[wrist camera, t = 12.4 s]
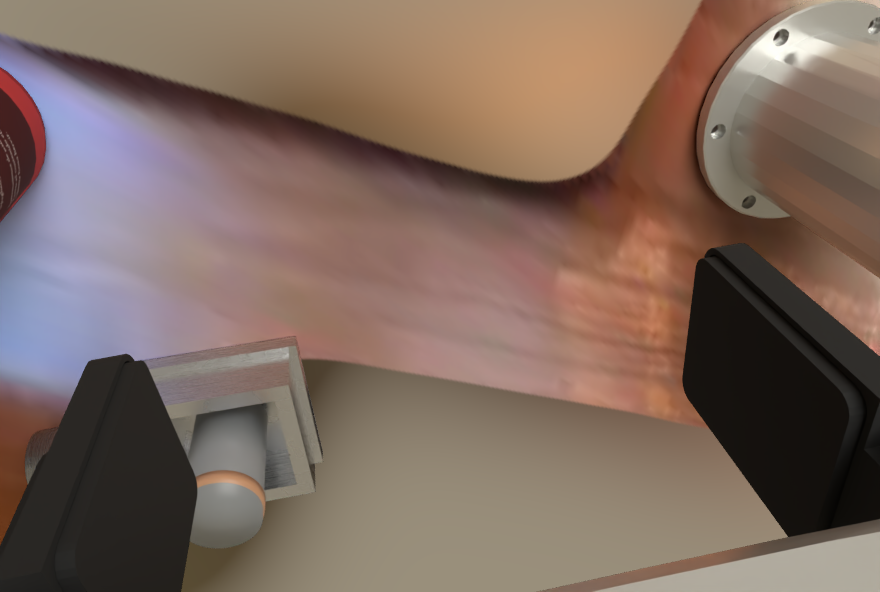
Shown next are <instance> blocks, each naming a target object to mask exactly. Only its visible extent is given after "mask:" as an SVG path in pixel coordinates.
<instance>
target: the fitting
mask: <svg viewBox="0 0 880 592" xmlns="http://www.w3.org/2000/svg"><path fill="white" fill-rule="evenodd" d="M144 362H145V363H146V365H147V367H148V368H149V371H150V373H151V375H152V378H153V380H154V382H155V384H156V387H157V389H158V391H159V394H160V396H161V398H162V400H163V403H164V405H165V407H166V410H167V412H168V414H169V417H170V419H171V421H172V423H173V426H174V428H175V430H176V433H177V435H178V437H179V439H180V442H181V444H182V446H183V449H184V451H185V453H186V455H187V458H188V456H189V451H190V445H191V440H192V435H193V429H194V424H195V419H196V415H197V414H203V413H209V412H215V411H220V410H226V409H232V408H238V407H244V406H250V405H255V404H261V405H262V406H263V407H264V409H265V410H266V413H267V416H268V429H267V448H266V467H265V485H264V492H265V497H266V501H271V500H276V499H281V498H287V497H292V496H297V495H303V494H308V493H313V492H316V490H315V463H320V462H323V451H322V447H321V443H320V438H319V434H318V430H317V425H316V421H315V417H314V413H313V408H312V404H311V400H310V395H309V391H308V387H307V383H306V378H305V374H304V370H303V365H302V361H301V357H300V352H299V348H298V344H297V340H296V336H293V337H287V338H281V339H275V340H268V341H262V342H256V343H250V344H244V345H237V346H231V347H225V348H219V349H213V350H206V351H200V352H194V353H188V354H182V355H175V356H169V357H163V358H157V359H151V360H144ZM58 428H59V427H57V428H51V429H45V430H40V431H37V432H36V433H34V434H33V436H32V437H31V439H30V441H29V443H28V446H27V450H26V456H25V473H26V479H27V483H29V481H30V479H31V477H32V474H33V472H34V470H35V468H36V466H37V463H38V462H39V460H40V459H41V457H42V456H43V455H44V454H45V453H47V452H48V451H49V448H50V446H51V444H52V441H53V439H54V437H55V435H56V432H57V430H58ZM266 501H265V502H266Z"/></svg>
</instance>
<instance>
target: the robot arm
mask: <svg viewBox="0 0 880 592" xmlns="http://www.w3.org/2000/svg"><path fill="white" fill-rule="evenodd" d="M697 157H698V162H699V166H700V171H701V173H702V175H703V177H704V179H705V181H706V183H707V185H708V186H709V188H710V189H711V190H712V191H713V192H714V194H715V195H716V196H717V197H718V198H719V199H721V200H722V201H723V202H725V203H726V204H727V205H728V206H729V207H731V208H733V209H734V210H736V211H738V212H740V213H742V214H745V215H749V216H753V217H756V218H769V219H778V218H784V217H790V216H792V217H793V218H794V219H796V220H797V221H799V222H800V223H802V224H803V225H804V226H806V227H807V228H809V229H810V230H811V231H813V232H814V233H816V234H817V235H819V236H820V237H821V238H823V239H824V240H826V241H827V242H829V243H830V244H831V245H833V246H834V247H836V248H837V249H839V250H840V251H841V252H843V253H844V254H846V255H847V256H849V257H850V258H851V259H853V260H854V261H856V262H857V263H859V264H860V265H861V266H863V267H864V268H866V269H867V270H869V271H870V272H871V273H873V274H874V275H876V276H877V277H879V278H880V8H878V7H876V6H874V5H872V4H868V3H865V2H861V1H857V0H812V1H809V2H806V3H803V4H800V5H797V6H794V7H792V8H790V9H788V10H786V11H784V12H782V13H780V14H778V15H777V16H775V17H773V18H771V19H770V20H768V21H767V22H766V23H765V24H763V25H762V26H761V27H759V28H758V29H757V30H755V31H754V32H753V33H751V34H750V35H749V36H748V37H747V38H746V39H745V40H744V41H743V42H742V43H741V45H740V46H739V47H738V48H737V49H736V50H735V51H734V52H733V53H732V55H731V56H730V57H729V59H728V60H727V61H726V63H725V64H724V65H723V67H722V68H721V69H720V71H719V73H718V74H717V76H716V78H715V80H714V82H713V84H712V85H711V87H710V89H709V91H708V93H707V96H706V99H705V102H704V105H703V107H702V110H701V113H700V118H699V124H698V129H697ZM682 381H683V388H684V391H685V394H686V396H687V398H688V399H689V401H690V402H691V404H692V405H693V406H694V408H695V409H696V410H697V412H698V413H699V415H700V416H701V417H702V419H703V420H704V421H705V423H706V424H707V426H708V427H709V428H710V430H711V431H712V432H713V434H714V435H715V437H716V438H717V439H718V441H719V442H720V443H721V445H722V446H723V448H724V449H725V450H726V452H727V453H728V455H729V456H730V457H731V459H732V460H733V461H734V463H735V464H736V466H737V467H738V468H739V470H740V471H741V472H742V474H743V475H744V476H745V478H746V479H747V481H748V482H749V483H750V485H751V486H752V488H753V489H754V490H755V492H756V493H757V494H758V496H759V497H760V499H761V500H762V501H763V503H764V504H765V505H766V507H767V508H768V509H769V511H770V512H771V514H772V515H773V516H774V518H775V519H776V521H777V522H778V523H779V525H780V526H781V527H782V529H783V530H784V532H785V533H786V534H787V536H788V537H787V538H782V539H778V540H773V541H769V542H764V543H759V544H754V545H750V546H745V547H741V548H736V549H732V550H727V551H722V552H717V553H713V554H708V555H704V556H699V557H694V558H689V559H685V560H680V561H676V562H671V563H666V564H661V565H657V566H652V567H648V568H643V569H638V570H634V571H629V572H624V573H620V574H615V575H611V576H607V577H602V578H598V579H593V580H588V581H584V582H580V583H574V584H570V585H566V586H561V587H556V588H552V589H547V590H543V591H538V592H880V356H879V355H877V354H876V353H875V352H874V351H873V350H871V349H870V348H869V347H868V346H867V345H866V344H864V343H863V342H862V341H861V340H860V339H858V338H857V337H856V336H855V335H854V334H853V333H851V332H850V331H849V330H848V329H847V328H845V327H844V326H843V325H842V324H841V323H839V322H838V321H837V320H836V319H835V318H834V317H832V316H831V315H830V314H829V313H828V312H826V311H825V310H824V309H823V308H822V307H821V306H819V305H818V304H817V303H816V302H815V301H813V300H812V299H811V298H810V297H809V296H808V295H806V294H805V293H804V292H803V291H802V290H800V289H799V288H798V287H797V286H796V285H794V284H793V283H792V282H791V281H790V280H789V279H787V278H786V277H785V276H784V275H783V274H781V273H780V272H779V271H778V270H777V269H776V268H774V267H773V266H772V265H771V264H770V263H768V262H767V261H766V260H765V259H764V258H762V257H761V256H760V255H759V254H758V253H757V252H755V251H754V250H753V249H752V248H751V247H749V246H748V245H746V244H745V243H739V244H733V245H728V246H722V247H716V248H711V249H709V250H708V251H707V253H706V254H705V258H702V259H700V260H699V261H698V262H697V265H696V271H695V279H694V287H693V295H692V304H691V312H690V320H689V328H688V336H687V345H686V353H685V361H684V369H683V380H682ZM197 494H198V492H197V481H196V477H195V474H194V471H193V469H192V467H191V465H190V462H189V460H188V458H187V455H186V453H185V451H184V449H183V446H182V444H181V442H180V439H179V437H178V435H177V433H176V430H175V428H174V426H173V423H172V421H171V419H170V417H169V414H168V412H167V410H166V407H165V405H164V403H163V400H162V398H161V396H160V394H159V391H158V389H157V387H156V384H155V382H154V380H153V378H152V375H151V373H150V371H149V368H148V367H147V365H146V363H145V362H144V361H142V360H140V361H134V359H133V358H132V357H131V356H130V355H128V354H123V355H118V356H112V357H107V358H101V359H96V360H91V361H89V362H88V364H87V365H86V367H85V369H84V371H83V374H82V376H81V378H80V380H79V383H78V385H77V387H76V390H75V392H74V394H73V396H72V399H71V401H70V403H69V405H68V408H67V410H66V412H65V414H64V417H63V419H62V421H61V423H60V426H59V428H58V430H57V432H56V435H55V437H54V439H53V441H52V444H51V446H50V448H49V451H48V452H47V453H45V454H44V455H43V456H42V457H41V459H40V460H39V462H38V463H37V466H36V468H35V470H34V472H33V474H32V477H31V479H30V481H29V483H28V485H27V488H26V490H25V492H24V494H23V497H22V499H21V501H20V503H19V505H18V508H17V510H16V512H15V514H14V516H13V519H12V521H11V523H10V525H9V528H8V530H7V532H6V534H5V536H4V539H3V541H2V543H1V545H0V592H181V589H182V583H183V577H184V571H185V565H186V559H187V553H188V547H189V542H190V536H191V530H192V525H193V519H194V513H195V507H196V501H197Z"/></svg>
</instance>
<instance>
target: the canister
mask: <svg viewBox="0 0 880 592" xmlns="http://www.w3.org/2000/svg"><path fill="white" fill-rule="evenodd" d="M267 429H268V416H267V413H266V410H265V409H264V407H263V406H262V405H261V404H255V405H250V406H244V407H238V408H232V409H226V410H220V411H215V412H209V413H203V414H197V415H196V419H195V424H194V429H193V435H192V440H191V445H190V451H189V456H188V460H189V462H190V465H191V467H192V469H193V471H194V474H195V477H196V481H197V492H198V494H197V501H196V507H195V513H194V519H193V525H192V530H191V536H190V542H192V543H194V544H196V545H199V546H202V547H207V548H229V547H233V546H237V545H240V544H242V543H244V542H246V541H248V540H249V539H251V538H252V537H253V536H255V535H256V533H257V532H258V531H259V529H260V527H261V525H262V521H263V517H264V514H265V501H266V497H265V492H264V485H265V467H266V448H267Z"/></svg>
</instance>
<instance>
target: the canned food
mask: <svg viewBox="0 0 880 592" xmlns="http://www.w3.org/2000/svg"><path fill="white" fill-rule="evenodd" d="M45 151H46V140H45V128H44V124H43V121H42V118H41V114H40V112H39V110H38V108H37V106H36V104H35V102H34V101H33V99H32V97H31V96H30V95H29V93H28V92H27V91H26V90H25V88H24V87H23V86H22V85H21V84H20V83H19V82H18V81H17V80H16V79H15V78H14V77H13V76H12V75H10V74H9V73H8V72H7V71H5V70H4V69H2V68H1V67H0V222H1V221H2V220H3V218H4V217H5V216H6V215H7V213H8V212H9V211H10V210H11V209H12V207H13V206H14V205H15V204H16V203H17V201H18V200H19V199H20V198H21V196H22V195H23V194H24V193H25V192H26V190H27V189H28V188H29V187H30V185H31V184H32V183H33V181H34V180H35V179H36V178H37V176H38V175H39V172H40V170H41V168H42V165H43V163H44V157H45Z"/></svg>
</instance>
